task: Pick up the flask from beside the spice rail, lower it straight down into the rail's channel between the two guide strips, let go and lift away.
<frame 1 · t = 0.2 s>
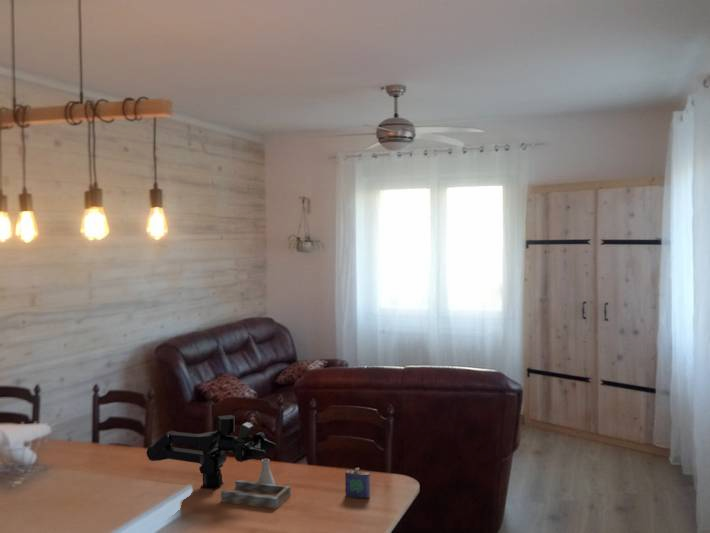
hand: (271, 449, 236), 17 cm above the table, tool horizontal, fingers open, 9 cm apart
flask: (266, 486, 244), on the table
flask 2: (357, 497, 232), on the table
spice rail: (256, 498, 232), on the table
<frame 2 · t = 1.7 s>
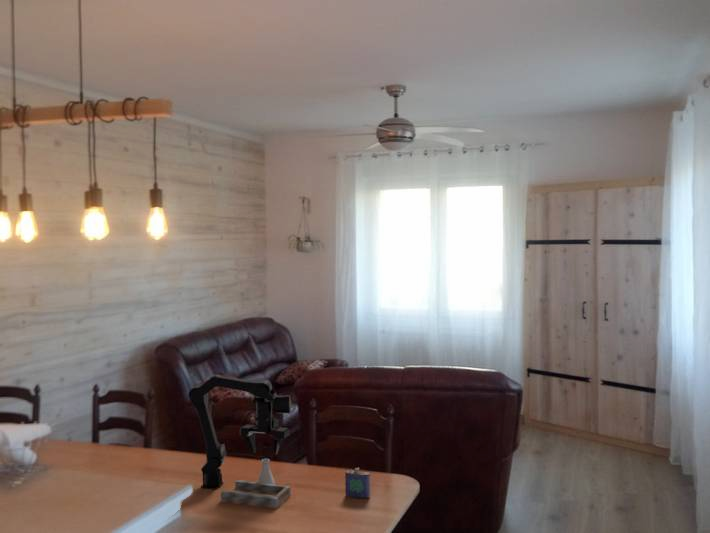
hand: (265, 453, 243), 12 cm above the table, tool pointing down, fingers open, 9 cm apart
nothing on the table moved.
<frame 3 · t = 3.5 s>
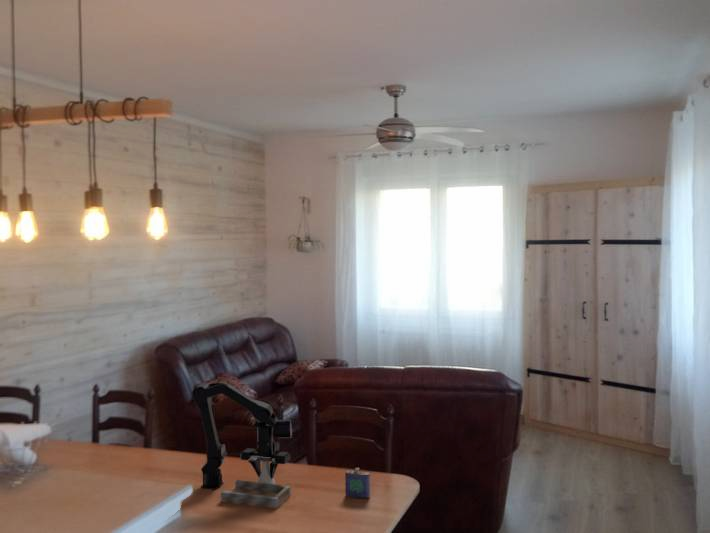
hand: (265, 477, 243), 3 cm above the table, tool pointing down, fingers closed on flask, 5 cm apart
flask: (266, 486, 244), on the table, touching gripper
everything else where it was.
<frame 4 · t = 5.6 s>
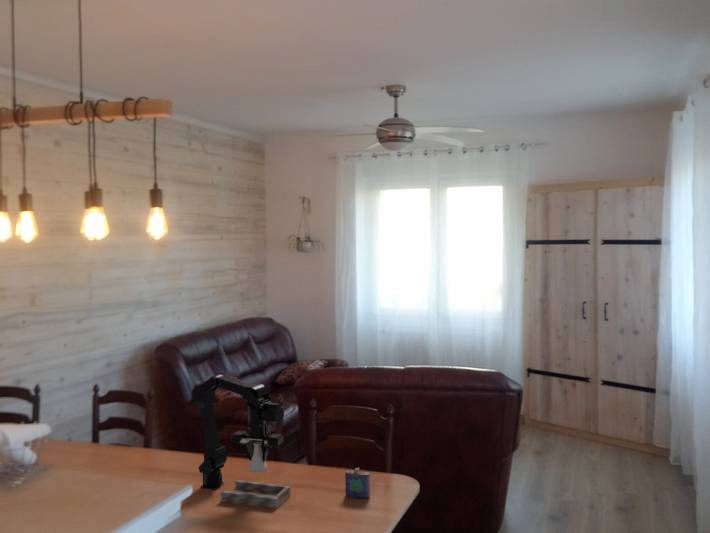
hand: (257, 461, 233), 13 cm above the table, tool pointing down, fingers closed on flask, 5 cm apart
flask: (257, 470, 233), point 10 cm above the table, touching gripper
everything else where it was.
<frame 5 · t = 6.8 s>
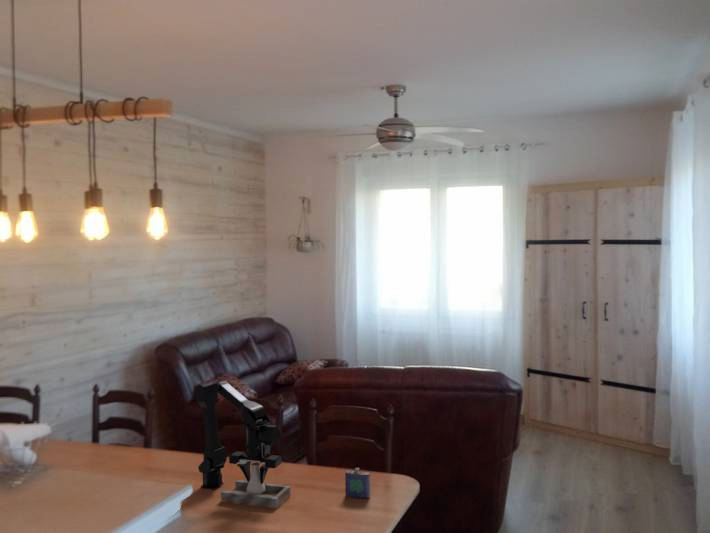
hand: (255, 482, 231), 6 cm above the table, tool pointing down, fingers closed on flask, 5 cm apart
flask: (255, 491, 232), point 3 cm above the table, touching gripper
everything else where it was.
when the fingers open (5 cm above the table, at t = 7.6 s): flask drops 1 cm, resting on spice rail.
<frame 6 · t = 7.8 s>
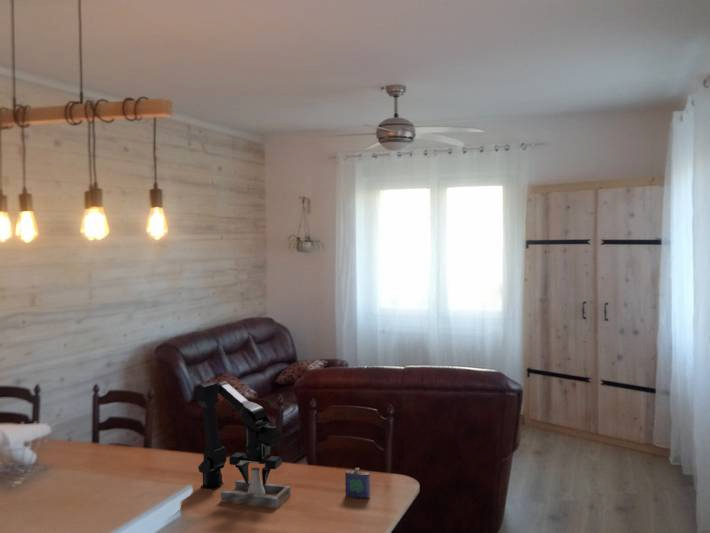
hand: (255, 483, 231), 5 cm above the table, tool pointing down, fingers open, 7 cm apart
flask: (256, 496, 232), point 1 cm above the table, touching spice rail
everything else where it was.
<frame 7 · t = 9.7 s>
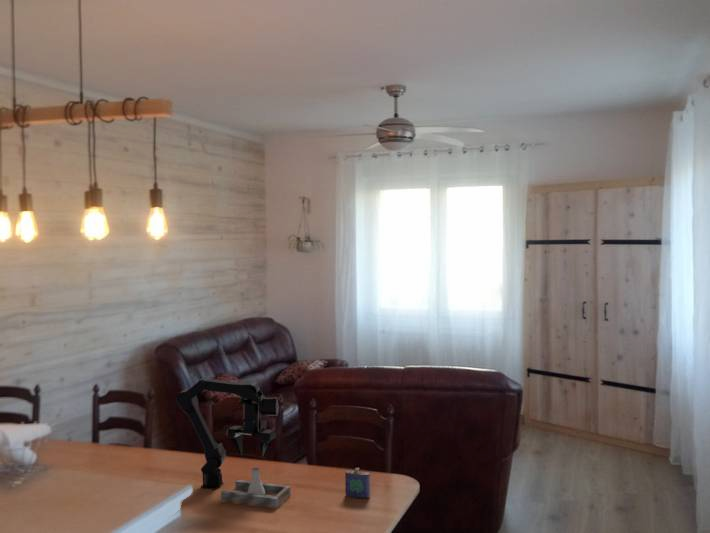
hand: (251, 455, 243), 12 cm above the table, tool pointing down, fingers open, 9 cm apart
nothing on the table moved.
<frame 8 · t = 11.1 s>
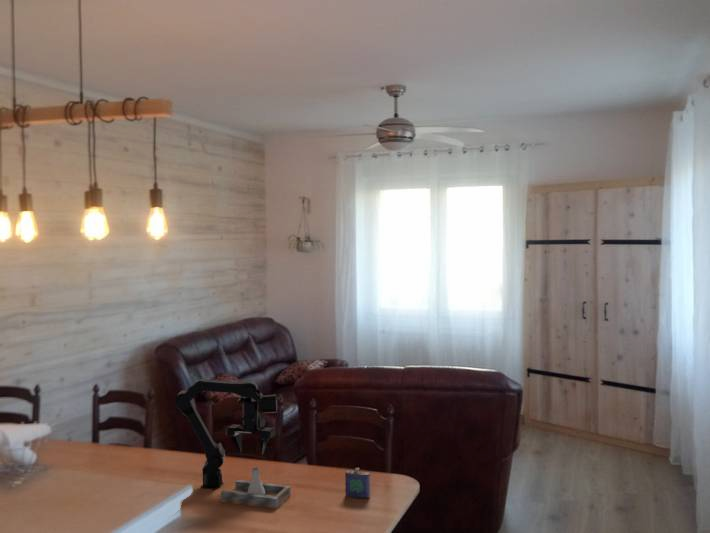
hand: (251, 453, 245), 12 cm above the table, tool pointing down, fingers open, 9 cm apart
nothing on the table moved.
at the end: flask inside the target area on the spice rail (0.1 cm from its centre), point 0.8 cm above the spice rail's base; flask tilted 0°; the gripper is holding nothing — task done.
